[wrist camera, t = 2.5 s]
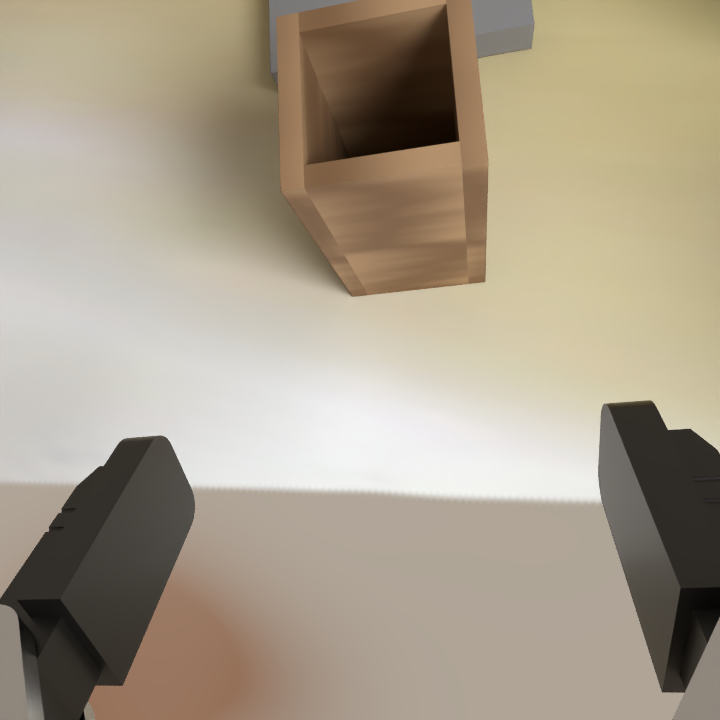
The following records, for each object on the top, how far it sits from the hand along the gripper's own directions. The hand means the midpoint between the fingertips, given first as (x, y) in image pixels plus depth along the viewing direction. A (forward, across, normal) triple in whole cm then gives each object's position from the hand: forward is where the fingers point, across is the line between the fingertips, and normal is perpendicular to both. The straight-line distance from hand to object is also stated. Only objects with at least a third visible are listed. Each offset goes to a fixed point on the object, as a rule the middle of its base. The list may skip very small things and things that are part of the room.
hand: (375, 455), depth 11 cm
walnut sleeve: (+17, 0, +2) cm, 17 cm away
